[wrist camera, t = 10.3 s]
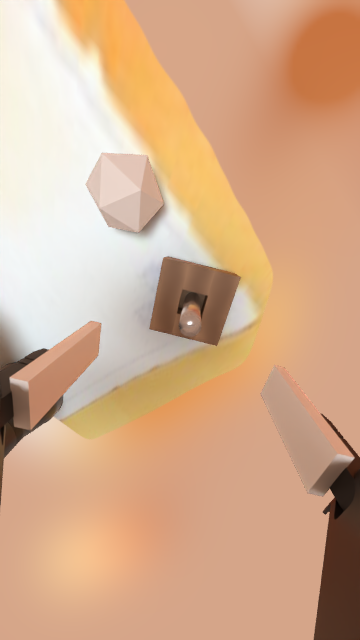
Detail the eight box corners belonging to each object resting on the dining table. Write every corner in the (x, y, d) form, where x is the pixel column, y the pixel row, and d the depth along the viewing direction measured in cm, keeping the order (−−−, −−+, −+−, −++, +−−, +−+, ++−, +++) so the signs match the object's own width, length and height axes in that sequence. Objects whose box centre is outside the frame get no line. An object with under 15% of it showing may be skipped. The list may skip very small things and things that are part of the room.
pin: (183, 304, 32) (176, 333, 21) (186, 290, 31) (181, 313, 20) (197, 307, 32) (197, 338, 21) (201, 293, 31) (203, 318, 20)
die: (111, 158, 28) (54, 177, 22) (159, 130, 23) (101, 145, 17) (139, 219, 33) (98, 247, 27) (182, 207, 28) (143, 239, 22)
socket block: (155, 318, 35) (149, 329, 30) (168, 256, 31) (163, 257, 26) (214, 332, 35) (217, 345, 30) (233, 273, 31) (240, 277, 27)
